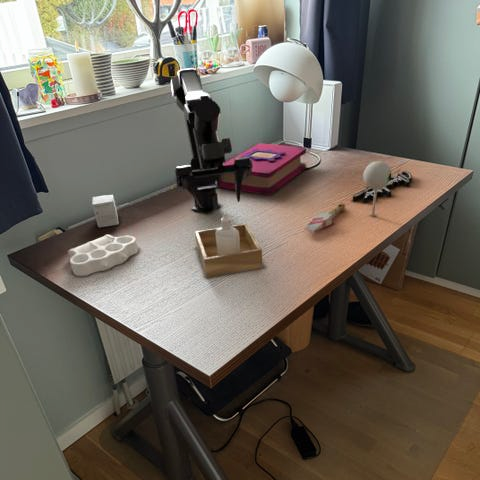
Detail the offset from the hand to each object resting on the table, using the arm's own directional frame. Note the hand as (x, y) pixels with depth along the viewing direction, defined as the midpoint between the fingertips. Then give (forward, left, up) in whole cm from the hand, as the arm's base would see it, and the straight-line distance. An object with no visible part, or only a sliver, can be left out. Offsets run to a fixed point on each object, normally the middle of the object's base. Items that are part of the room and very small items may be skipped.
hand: (220, 204), depth 113 cm
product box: (-42, -1, -12) cm, 43 cm away
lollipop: (+26, +35, -12) cm, 45 cm away
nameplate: (+23, +55, -12) cm, 61 cm away
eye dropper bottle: (+4, -4, -12) cm, 14 cm away
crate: (+3, -3, -12) cm, 13 cm away
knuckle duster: (-26, -18, -12) cm, 34 cm away
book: (-19, +50, -12) cm, 55 cm away
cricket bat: (+16, +26, -12) cm, 33 cm away
